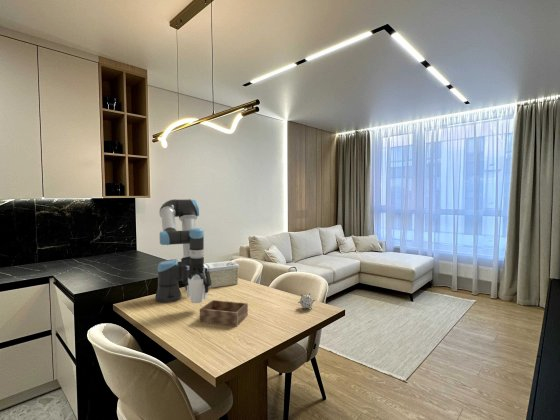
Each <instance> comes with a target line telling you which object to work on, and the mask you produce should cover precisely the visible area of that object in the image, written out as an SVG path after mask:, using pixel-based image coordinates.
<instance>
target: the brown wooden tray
mask: <svg viewBox="0 0 560 420" xmlns="http://www.w3.org/2000/svg"><path fill="white" fill-rule="evenodd" d="M248 305H249V304H248V302H236V301H229V300H228V301H226V300H215V299H212V300H211V301H209V302H208V303H207V304H205V305H204V306H202V307H201V308H200V309H199V323H203V324H205V323H206V324H212V325H221V326H222V325H223V326H231V327H238V326H240V324H241V323H242V322H243V321H244V320H245V319H246V318H247V317H248V315H249V313H248V312H249V311H248V310H249V309H248V308H249V307H248Z"/></svg>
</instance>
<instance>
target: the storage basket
mask: <svg viewBox="0 0 560 420" xmlns="http://www.w3.org/2000/svg"><path fill="white" fill-rule="evenodd" d="M204 267H206V268H207V267H209V274H210V278H211V282H212V285H210V286H209V287H208V289H213V288H220V287H227V286H232V285H233V286H234V285H237V284H238V282H239V269H240V264H239V263H238V262H235V261H234V260H227V261H218V262H206V263H205V262H204ZM203 272H204V275H205V271H204V270H203ZM205 277H206V276H205Z"/></svg>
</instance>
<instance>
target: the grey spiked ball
mask: <svg viewBox="0 0 560 420" xmlns="http://www.w3.org/2000/svg"><path fill="white" fill-rule="evenodd" d="M300 296H301V298H300V299H299V301H298V302H297V304H300V306H301V307H302V310H303V311H304V310H305V309H311V310H312V309H313V308H312V306H313V304H314V302H316V300H314V299H313V298H312V296H311V293H308V294H300Z"/></svg>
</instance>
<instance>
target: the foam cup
mask: <svg viewBox="0 0 560 420" xmlns="http://www.w3.org/2000/svg"><path fill="white" fill-rule="evenodd" d="M205 278H206V277H205ZM188 284H189V291H190V297H189V298H190V303H192V304H200V303H203V302H204V299H203V287H205V286H204V284H203V279H201V278H200V276H193V277H192V279H189V278H188Z"/></svg>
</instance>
